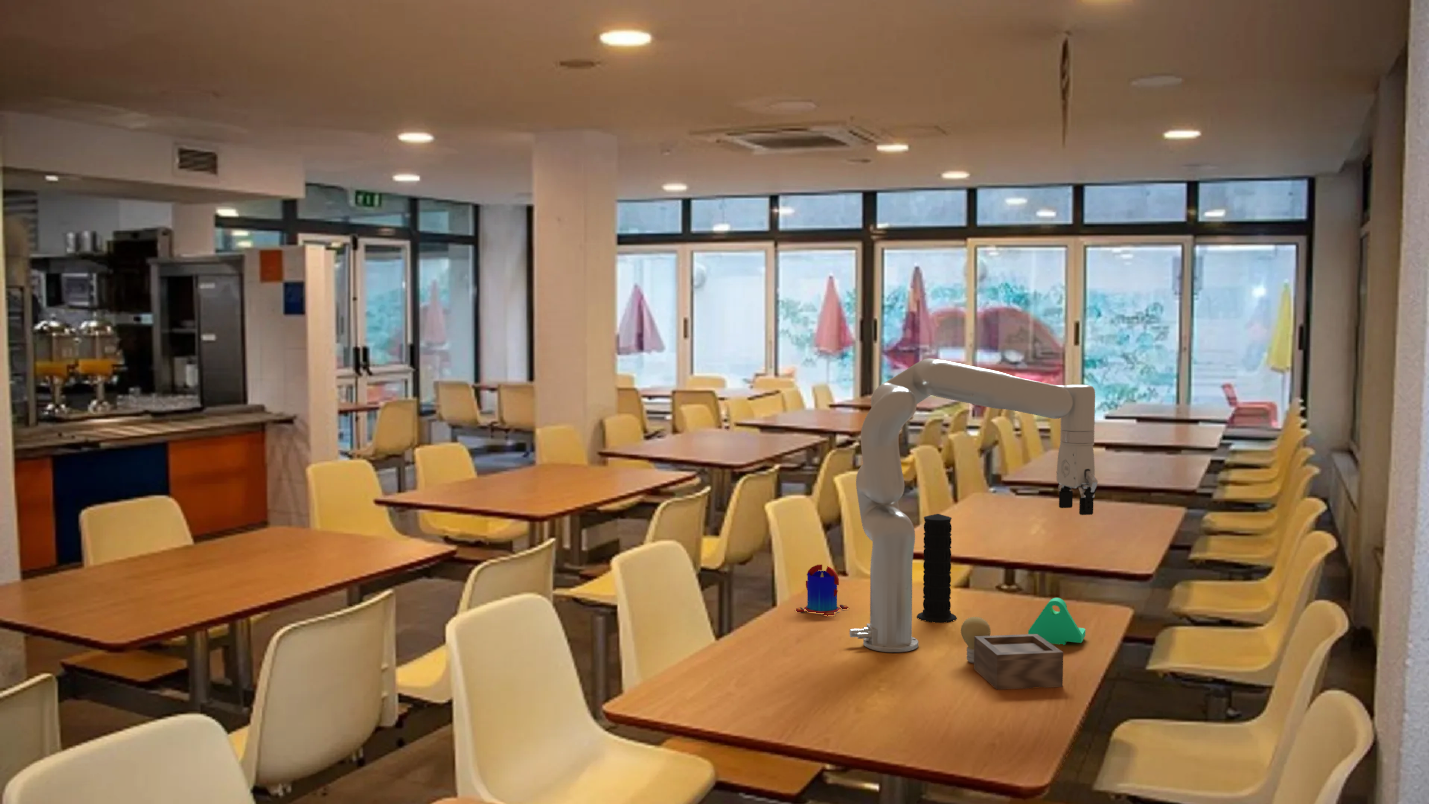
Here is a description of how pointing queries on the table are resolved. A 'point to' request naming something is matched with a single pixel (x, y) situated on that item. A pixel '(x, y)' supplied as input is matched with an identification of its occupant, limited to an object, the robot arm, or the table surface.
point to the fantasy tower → (822, 591)
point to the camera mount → (1057, 624)
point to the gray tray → (1018, 661)
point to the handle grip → (937, 569)
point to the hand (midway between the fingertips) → (1075, 511)
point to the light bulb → (973, 633)
